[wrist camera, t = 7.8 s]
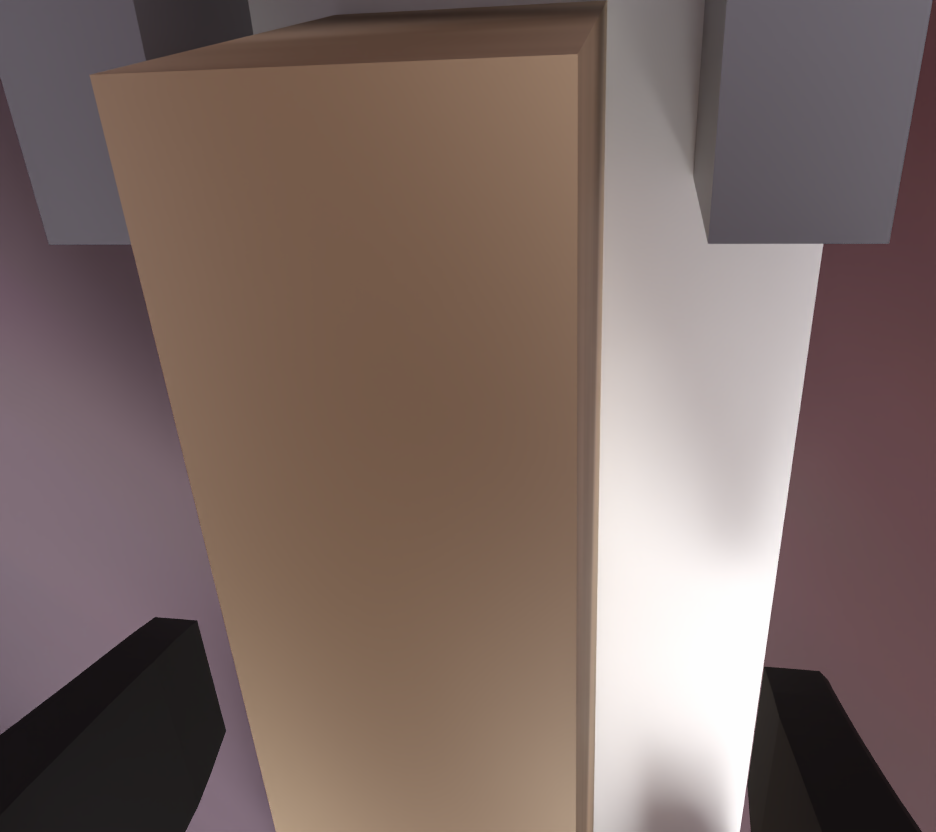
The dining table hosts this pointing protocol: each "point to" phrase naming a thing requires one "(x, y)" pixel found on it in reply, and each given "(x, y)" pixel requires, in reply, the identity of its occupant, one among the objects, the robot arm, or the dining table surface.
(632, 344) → the cradle
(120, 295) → the dining table surface
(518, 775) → the oak slat
